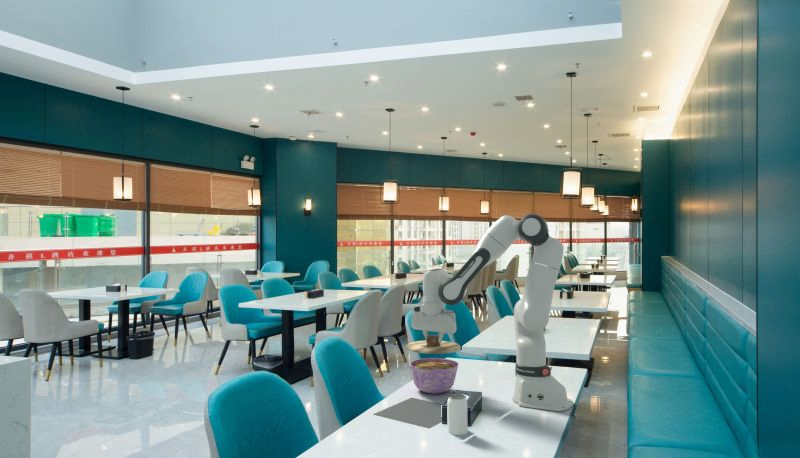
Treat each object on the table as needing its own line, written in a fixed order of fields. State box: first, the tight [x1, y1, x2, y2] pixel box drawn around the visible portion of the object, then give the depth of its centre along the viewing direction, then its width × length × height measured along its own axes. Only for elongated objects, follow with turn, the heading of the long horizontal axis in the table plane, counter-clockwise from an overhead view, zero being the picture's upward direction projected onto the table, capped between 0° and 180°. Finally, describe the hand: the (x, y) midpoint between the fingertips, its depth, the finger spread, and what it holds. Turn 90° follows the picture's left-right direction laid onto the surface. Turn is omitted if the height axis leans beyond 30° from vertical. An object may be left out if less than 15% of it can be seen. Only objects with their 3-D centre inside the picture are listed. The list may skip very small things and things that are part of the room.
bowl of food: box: [408, 357, 459, 394], centre depth 223 cm, size 20×20×12 cm
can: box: [446, 393, 468, 436], centre depth 178 cm, size 6×6×12 cm
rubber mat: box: [372, 397, 443, 429], centre depth 197 cm, size 24×24×1 cm
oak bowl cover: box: [406, 334, 462, 355], centre depth 223 cm, size 22×22×5 cm
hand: (433, 342), depth 223 cm, fingers closed on oak bowl cover, 4 cm apart
